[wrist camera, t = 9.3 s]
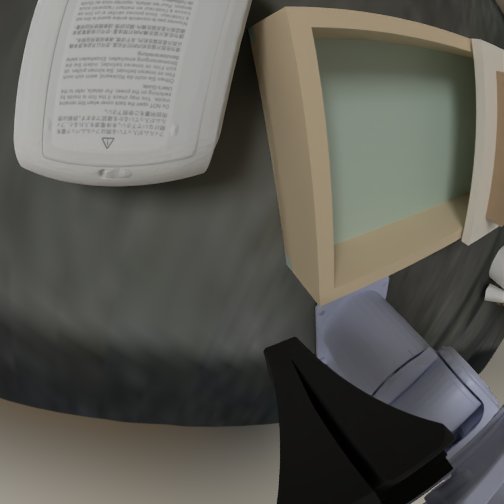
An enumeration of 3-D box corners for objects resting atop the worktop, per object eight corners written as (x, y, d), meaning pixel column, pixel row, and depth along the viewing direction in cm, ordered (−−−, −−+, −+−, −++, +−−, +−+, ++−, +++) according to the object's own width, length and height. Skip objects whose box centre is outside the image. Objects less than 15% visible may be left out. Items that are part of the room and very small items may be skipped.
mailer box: (480, 189, 26) (512, 207, 22) (286, 264, 21) (319, 306, 17) (483, 55, 17) (522, 62, 13) (247, 28, 13) (285, 6, 9)
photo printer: (68, -31, 7) (33, 172, 13) (50, -61, 4) (3, 198, 9) (246, -20, 11) (205, 176, 16) (276, -47, 7) (222, 202, 13)
